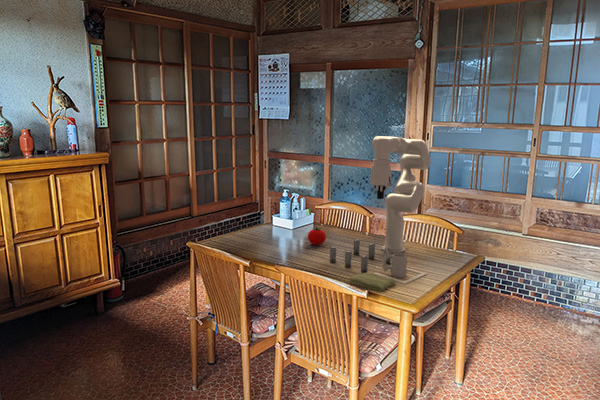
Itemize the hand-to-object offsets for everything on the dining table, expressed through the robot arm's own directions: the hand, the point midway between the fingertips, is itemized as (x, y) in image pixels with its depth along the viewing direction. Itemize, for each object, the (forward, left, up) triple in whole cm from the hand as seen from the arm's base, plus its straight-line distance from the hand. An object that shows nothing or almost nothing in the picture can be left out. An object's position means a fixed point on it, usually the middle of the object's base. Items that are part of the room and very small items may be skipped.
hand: (380, 198), depth 233 cm
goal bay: (+11, +20, -32) cm, 39 cm away
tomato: (+4, -40, -32) cm, 52 cm away
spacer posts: (+11, -3, -32) cm, 34 cm away
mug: (+13, +19, -32) cm, 40 cm away
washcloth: (+30, +19, -33) cm, 48 cm away
